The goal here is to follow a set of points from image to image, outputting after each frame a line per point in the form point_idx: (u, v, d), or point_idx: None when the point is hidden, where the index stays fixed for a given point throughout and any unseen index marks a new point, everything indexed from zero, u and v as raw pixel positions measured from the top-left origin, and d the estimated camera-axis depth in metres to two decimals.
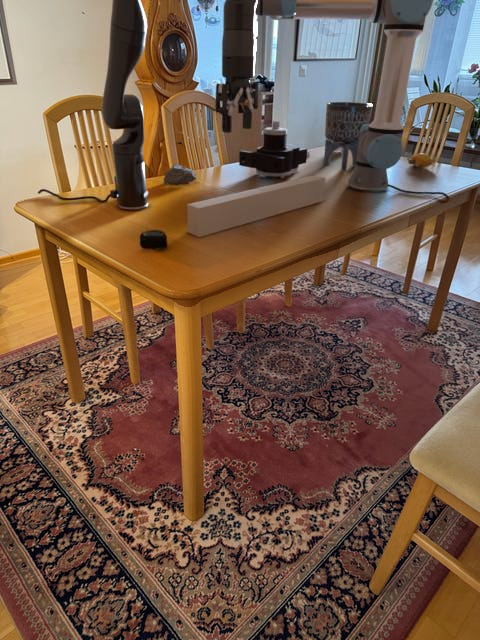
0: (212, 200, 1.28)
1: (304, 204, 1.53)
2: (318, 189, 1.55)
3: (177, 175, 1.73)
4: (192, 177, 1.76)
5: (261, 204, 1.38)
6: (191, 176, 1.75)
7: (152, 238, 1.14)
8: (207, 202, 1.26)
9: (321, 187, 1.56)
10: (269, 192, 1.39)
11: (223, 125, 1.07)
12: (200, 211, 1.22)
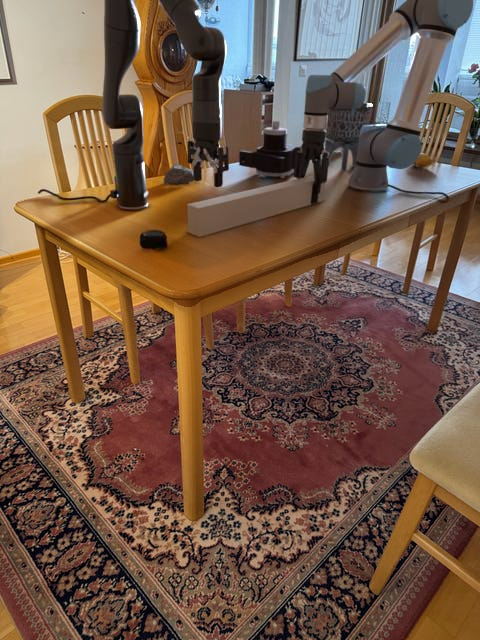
0: (212, 200, 1.28)
1: (304, 204, 1.53)
2: None
3: (177, 175, 1.73)
4: (192, 177, 1.76)
5: (261, 204, 1.38)
6: (191, 176, 1.75)
7: (152, 238, 1.14)
8: (207, 202, 1.26)
9: (321, 187, 1.56)
10: (269, 192, 1.39)
11: (219, 181, 1.20)
12: (200, 211, 1.22)
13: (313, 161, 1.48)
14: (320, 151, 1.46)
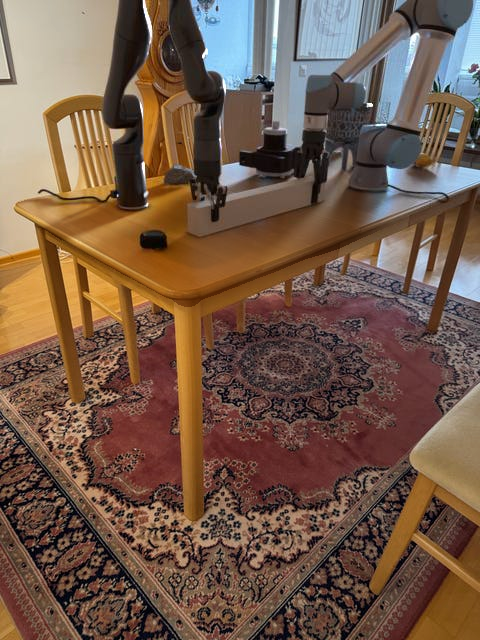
0: None
1: (304, 204, 1.53)
2: None
3: (177, 175, 1.73)
4: (192, 177, 1.76)
5: (261, 204, 1.38)
6: (191, 176, 1.75)
7: (152, 238, 1.14)
8: (207, 202, 1.26)
9: (321, 187, 1.56)
10: (269, 192, 1.39)
11: (216, 216, 1.25)
12: (200, 211, 1.22)
13: (313, 161, 1.48)
14: (320, 151, 1.46)
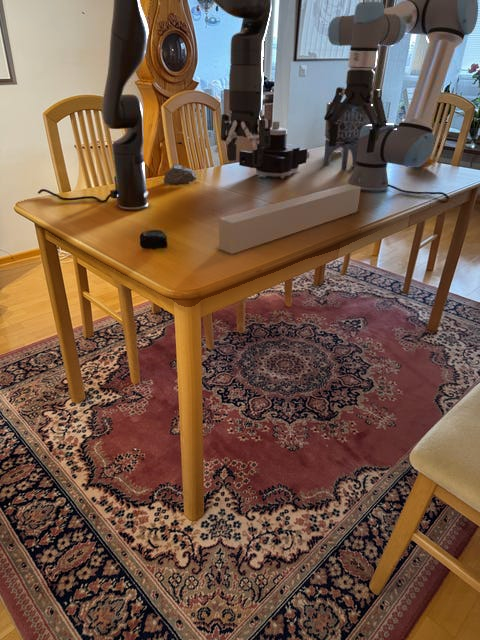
0: (245, 213, 1.18)
1: (339, 215, 1.43)
2: (353, 199, 1.45)
3: (177, 175, 1.73)
4: (192, 177, 1.76)
5: (296, 217, 1.28)
6: (191, 176, 1.75)
7: (152, 238, 1.14)
8: (241, 216, 1.16)
9: (356, 197, 1.46)
10: (304, 204, 1.28)
11: (259, 159, 1.05)
12: (234, 226, 1.12)
13: (363, 105, 1.28)
14: (368, 93, 1.27)
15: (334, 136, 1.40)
